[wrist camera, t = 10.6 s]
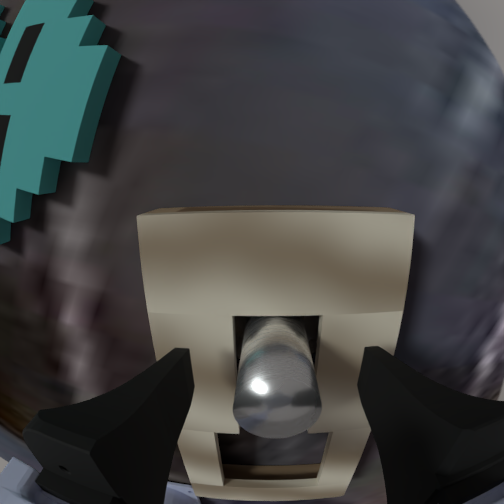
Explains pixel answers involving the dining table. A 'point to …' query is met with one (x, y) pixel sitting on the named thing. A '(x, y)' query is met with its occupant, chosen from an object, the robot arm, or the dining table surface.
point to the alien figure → (48, 98)
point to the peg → (276, 375)
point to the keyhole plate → (274, 304)
